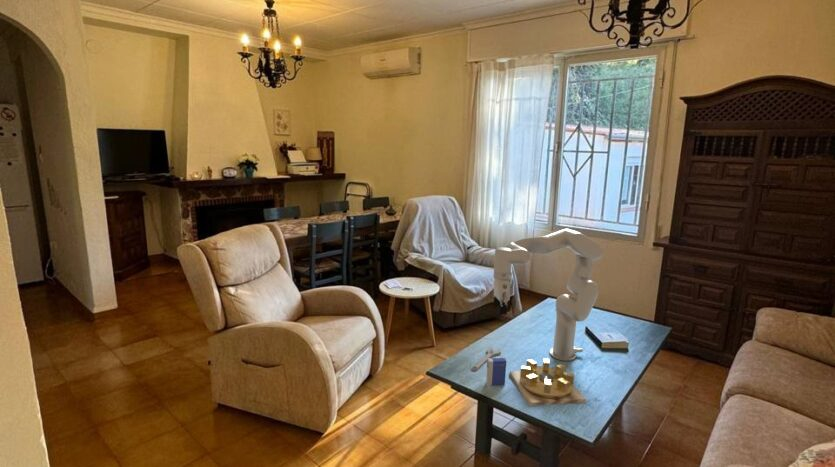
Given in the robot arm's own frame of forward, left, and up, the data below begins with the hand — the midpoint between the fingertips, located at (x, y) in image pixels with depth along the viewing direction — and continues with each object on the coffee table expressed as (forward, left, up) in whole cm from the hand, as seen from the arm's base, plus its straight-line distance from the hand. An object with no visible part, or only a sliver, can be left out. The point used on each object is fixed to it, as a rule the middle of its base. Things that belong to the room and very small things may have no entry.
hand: (499, 310), depth 202 cm
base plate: (-16, +20, -28) cm, 38 cm away
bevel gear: (-16, +20, -26) cm, 37 cm away
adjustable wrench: (+4, -6, -29) cm, 30 cm away
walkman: (+5, +15, -28) cm, 33 cm away
